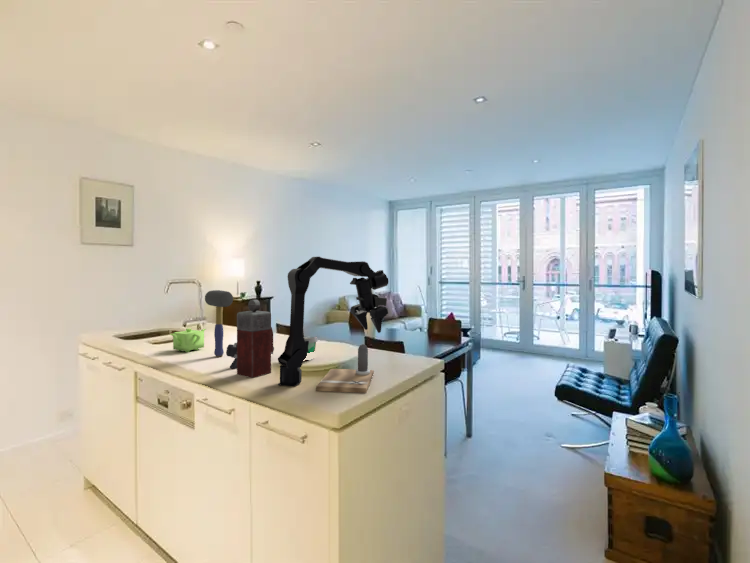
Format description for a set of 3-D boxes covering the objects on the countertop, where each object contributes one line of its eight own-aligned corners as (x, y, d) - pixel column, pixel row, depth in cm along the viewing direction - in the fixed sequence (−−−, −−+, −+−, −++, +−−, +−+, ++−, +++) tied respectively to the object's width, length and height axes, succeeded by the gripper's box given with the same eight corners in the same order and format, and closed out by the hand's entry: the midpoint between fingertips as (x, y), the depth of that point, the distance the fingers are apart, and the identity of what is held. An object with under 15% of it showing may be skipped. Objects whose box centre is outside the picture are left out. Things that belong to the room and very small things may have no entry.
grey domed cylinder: (354, 375, 141) (354, 345, 140) (356, 371, 146) (357, 342, 145) (368, 375, 140) (369, 345, 140) (370, 372, 145) (370, 343, 145)
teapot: (169, 354, 180) (169, 331, 180) (172, 349, 192) (172, 327, 192) (205, 352, 186) (205, 329, 185) (206, 347, 198) (206, 326, 198)
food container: (290, 362, 166) (290, 339, 165) (289, 359, 171) (289, 336, 171) (319, 361, 169) (319, 338, 169) (317, 358, 175) (317, 335, 175)
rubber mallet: (234, 356, 176) (234, 290, 175) (219, 359, 169) (219, 291, 169) (218, 353, 183) (218, 289, 182) (203, 356, 177) (203, 290, 176)
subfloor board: (316, 390, 127) (316, 385, 127) (331, 372, 150) (331, 368, 150) (366, 392, 125) (366, 387, 125) (373, 374, 148) (373, 369, 148)
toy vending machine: (275, 371, 151) (276, 299, 150) (252, 377, 141) (252, 300, 141) (260, 368, 156) (260, 298, 155) (236, 374, 146) (236, 299, 146)
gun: (221, 367, 152) (226, 341, 153) (267, 368, 173) (271, 346, 175) (226, 368, 150) (230, 342, 152) (271, 369, 172) (275, 346, 174)
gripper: (395, 288, 148) (403, 327, 151) (368, 286, 163) (375, 322, 166) (371, 296, 142) (380, 337, 145) (346, 294, 157) (354, 330, 160)
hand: (372, 331), depth 154 cm, fingers open, 9 cm apart
